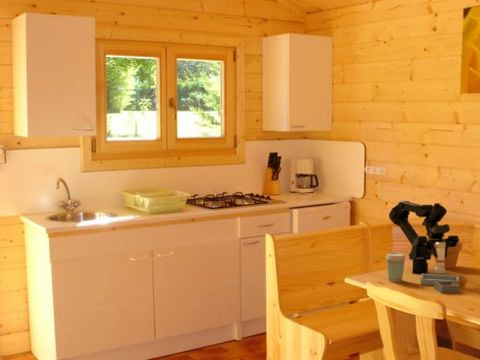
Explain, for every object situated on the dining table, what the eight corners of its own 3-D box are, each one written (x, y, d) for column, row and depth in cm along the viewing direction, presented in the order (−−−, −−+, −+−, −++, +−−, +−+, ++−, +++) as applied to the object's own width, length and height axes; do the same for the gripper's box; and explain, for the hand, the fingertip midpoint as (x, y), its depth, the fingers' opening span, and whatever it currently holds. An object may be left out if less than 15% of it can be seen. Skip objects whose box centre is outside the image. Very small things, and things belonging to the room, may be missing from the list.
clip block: (434, 288, 285) (434, 281, 285) (452, 287, 286) (452, 280, 286) (441, 293, 277) (441, 286, 277) (460, 292, 278) (460, 285, 278)
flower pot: (437, 262, 334) (438, 236, 333) (465, 266, 325) (466, 240, 324) (425, 267, 323) (426, 241, 322) (454, 271, 314) (455, 244, 313)
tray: (420, 284, 291) (420, 279, 291) (421, 278, 301) (421, 273, 301) (459, 287, 286) (459, 281, 286) (458, 281, 297) (458, 275, 296)
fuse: (434, 272, 292) (435, 243, 291) (434, 270, 296) (435, 241, 295) (444, 273, 291) (445, 243, 289) (444, 270, 295) (445, 241, 293)
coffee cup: (406, 279, 300) (407, 253, 299) (402, 284, 293) (403, 257, 291) (387, 277, 304) (388, 251, 303) (383, 282, 296) (383, 255, 295)
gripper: (417, 218, 294) (425, 248, 284) (458, 217, 296) (468, 247, 286) (410, 232, 302) (418, 262, 293) (450, 231, 304) (459, 261, 295)
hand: (441, 257), depth 291 cm, fingers closed on fuse, 4 cm apart
